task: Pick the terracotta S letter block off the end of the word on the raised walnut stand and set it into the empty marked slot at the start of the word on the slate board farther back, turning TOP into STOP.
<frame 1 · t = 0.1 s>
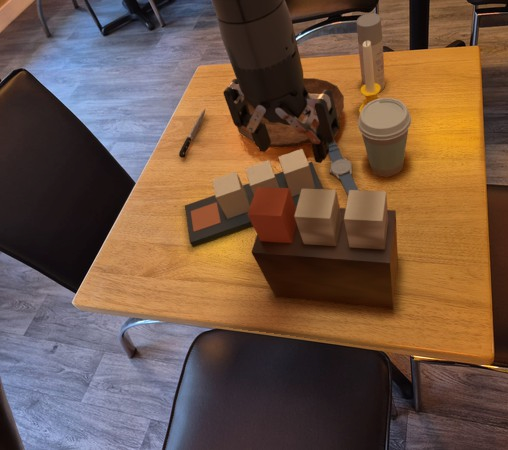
hand: (293, 153, 60), 18 cm above the table, tool pointing down, fingers open, 8 cm apart
tile s: (279, 228, 59), point 13 cm above the table, touching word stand
container: (373, 87, 93), on the table
candle: (372, 111, 89), on the table
bowl: (294, 128, 91), on the table
knife: (196, 136, 95), on the table
coffee cup: (386, 165, 80), on the table
wristwatch: (341, 171, 81), on the table
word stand: (336, 279, 68), on the table
far board: (255, 205, 80), on the table
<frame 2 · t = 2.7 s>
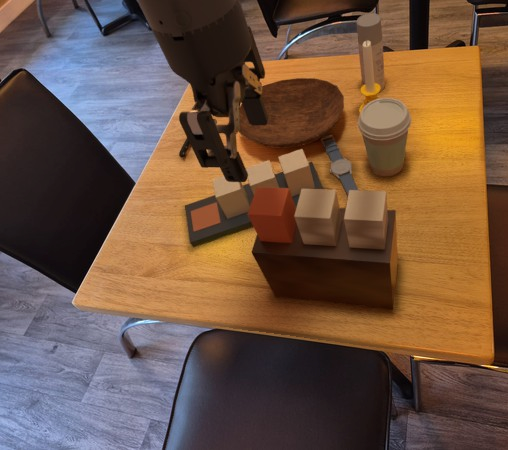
hand: (249, 150, 48), 28 cm above the table, tool pointing down, fingers open, 8 cm apart
nothing on the table moved.
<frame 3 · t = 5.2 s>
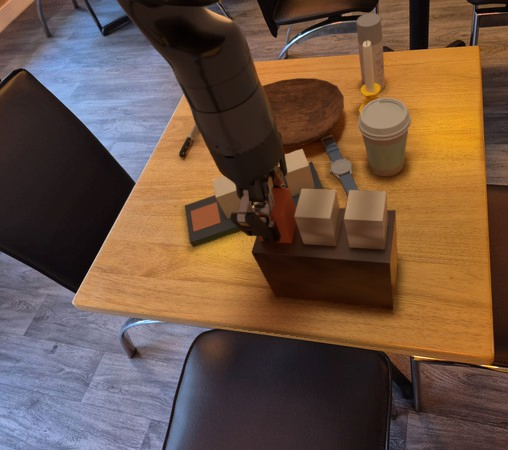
hand: (277, 223, 58), 14 cm above the table, tool pointing down, fingers closed on tile s, 4 cm apart
tile s: (279, 228, 59), point 13 cm above the table, touching gripper, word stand
everything else where it was.
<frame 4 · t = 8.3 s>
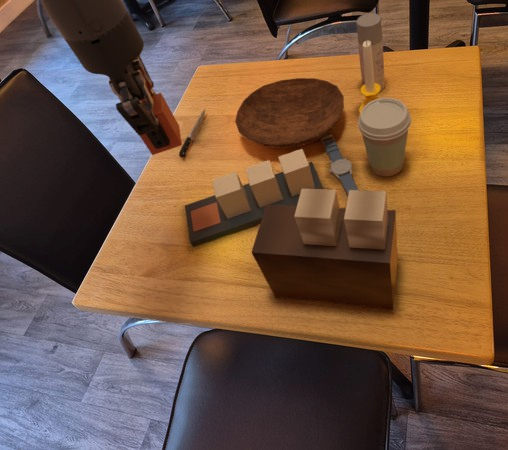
hand: (161, 133, 61), 22 cm above the table, tool pointing down, fingers closed on tile s, 4 cm apart
tile s: (166, 140, 63), point 21 cm above the table, touching gripper
everything else where it was.
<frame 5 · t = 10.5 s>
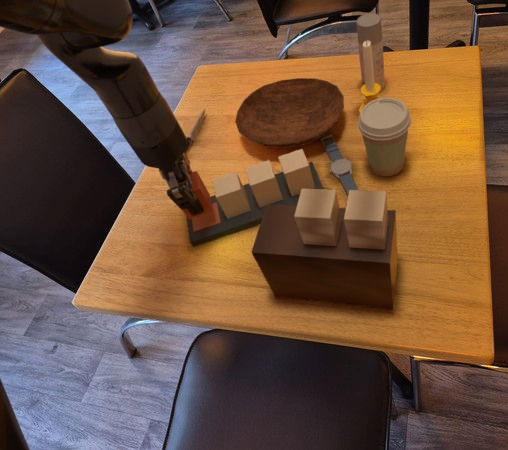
hand: (196, 202, 75), 6 cm above the table, tool pointing down, fingers closed on tile s, 4 cm apart
tile s: (199, 206, 76), point 4 cm above the table, touching gripper
everything else where it was.
when the fingers open (3 cm above the table, at t = 11.8 s): tile s stays where it is, resting on far board.
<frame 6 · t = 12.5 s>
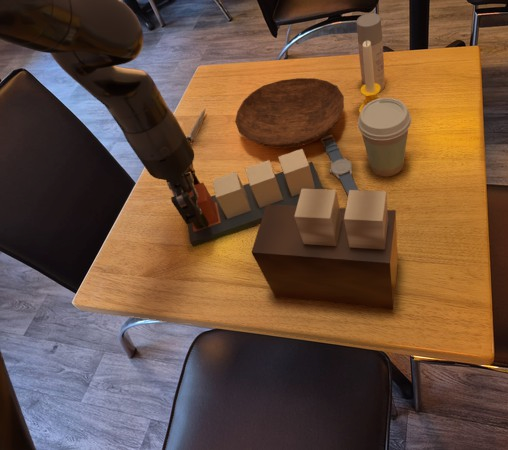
hand: (200, 208, 77), 4 cm above the table, tool pointing down, fingers open, 8 cm apart
tile s: (205, 216, 79), point 2 cm above the table, touching far board
everything else where it was.
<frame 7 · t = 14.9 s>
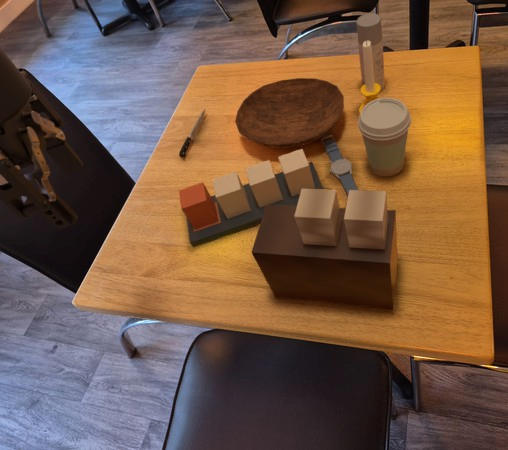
hand: (72, 195, 48), 29 cm above the table, tool pointing down, fingers open, 8 cm apart
nothing on the table moved.
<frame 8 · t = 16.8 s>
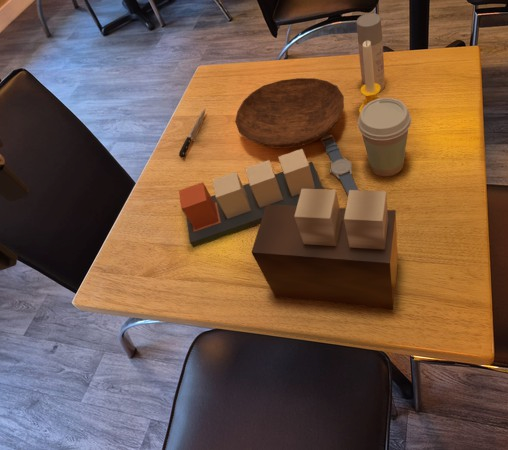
hand: (14, 228, 41), 32 cm above the table, tool pointing down, fingers open, 8 cm apart
nothing on the table moved.
at the end: tile s 0.0 cm from the target spot on the far board, point 1.6 cm above the far board's base; tile s tilted 0°; the gripper is holding nothing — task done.
